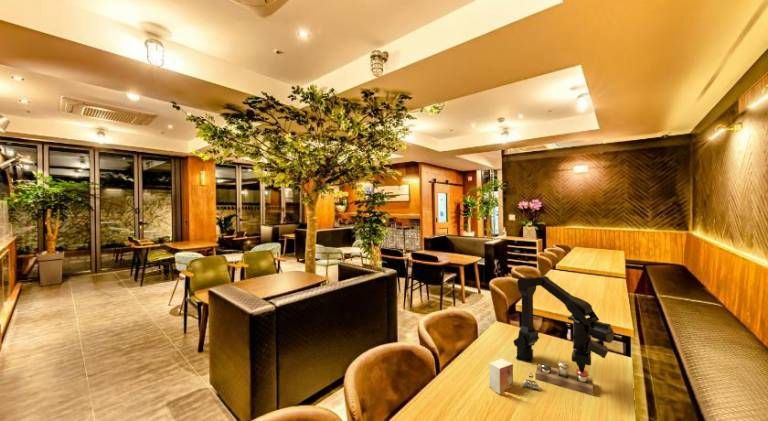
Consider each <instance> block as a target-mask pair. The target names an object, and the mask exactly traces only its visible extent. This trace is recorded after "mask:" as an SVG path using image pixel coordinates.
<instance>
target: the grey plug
mask: <svg viewBox="0 0 768 421" xmlns="http://www.w3.org/2000/svg"><path fill="white" fill-rule="evenodd" d="M540 364H541V368H542V372H545V373H549V374H550V369H551V367H552V365H551V364H550V363H548V362H541V363H540Z"/></svg>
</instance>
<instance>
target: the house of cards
mask: <svg viewBox="0 0 768 421" xmlns="http://www.w3.org/2000/svg"><path fill="white" fill-rule="evenodd" d="M527 377H528V378H531V379H527V378H526V379H525V380H524V381H522V383H521V388H523V387H524V388H525V389H527V388H529V389H531V390H533V389H534V390H535V391H538V390H539V392H541V388H540V386H539V384H538V383H537V382H536V381H537V380H536V381H535V380H533V379H534V376H533V374H532V372H529V374H528V376H527ZM532 378H533V379H532Z"/></svg>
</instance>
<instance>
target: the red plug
mask: <svg viewBox="0 0 768 421" xmlns="http://www.w3.org/2000/svg"><path fill="white" fill-rule="evenodd" d="M575 373H576V374H578V382H582V383H586V384H587V376H588V377H589V372H588V371H587V370H585V369H584V372H580V370H579V368H577V369H576V370H575Z"/></svg>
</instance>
